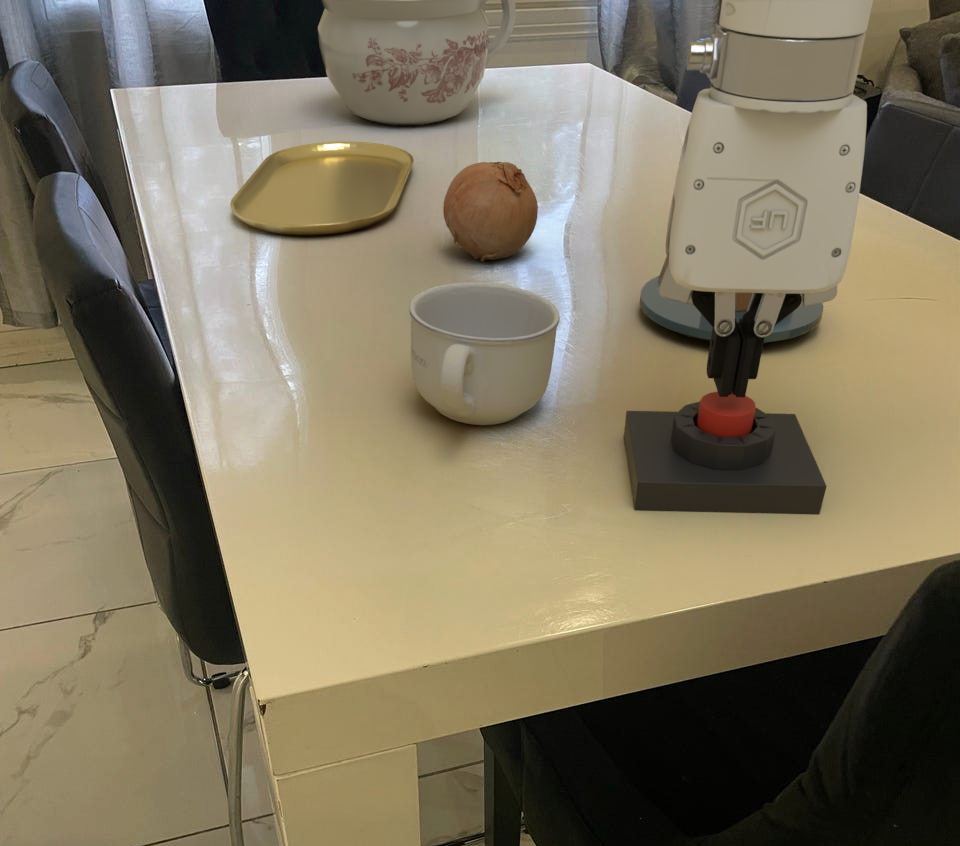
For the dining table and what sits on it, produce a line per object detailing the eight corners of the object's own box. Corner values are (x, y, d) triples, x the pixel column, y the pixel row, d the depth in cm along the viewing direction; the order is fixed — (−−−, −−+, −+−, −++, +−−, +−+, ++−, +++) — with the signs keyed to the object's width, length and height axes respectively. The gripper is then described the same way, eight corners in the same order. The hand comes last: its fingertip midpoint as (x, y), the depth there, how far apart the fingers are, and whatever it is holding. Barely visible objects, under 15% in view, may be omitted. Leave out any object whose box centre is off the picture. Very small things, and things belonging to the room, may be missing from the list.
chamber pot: (288, 132, 144) (269, -43, 130) (349, 92, 164) (338, -63, 151) (480, 143, 139) (480, -37, 126) (518, 100, 160) (521, -59, 146)
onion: (525, 286, 106) (571, 201, 98) (450, 277, 100) (493, 188, 93) (488, 228, 109) (529, 143, 102) (414, 217, 104) (452, 126, 97)
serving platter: (213, 238, 108) (210, 223, 107) (281, 153, 135) (280, 140, 134) (387, 242, 107) (386, 226, 106) (421, 155, 134) (420, 142, 133)
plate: (858, 330, 86) (876, 255, 82) (688, 353, 83) (698, 276, 79) (764, 268, 98) (776, 200, 94) (612, 285, 95) (618, 215, 91)
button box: (789, 441, 73) (800, 390, 71) (819, 515, 66) (833, 460, 63) (623, 437, 74) (628, 386, 71) (634, 511, 66) (640, 456, 63)
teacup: (453, 367, 83) (451, 269, 78) (575, 393, 79) (582, 292, 74) (365, 440, 73) (357, 334, 68) (500, 474, 70) (502, 364, 65)
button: (746, 415, 69) (751, 391, 68) (755, 440, 66) (760, 416, 65) (693, 414, 69) (696, 390, 68) (700, 439, 66) (704, 415, 65)
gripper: (650, 80, 51) (617, 411, 63) (948, 84, 51) (859, 417, 62) (638, 53, 57) (609, 361, 69) (905, 57, 57) (831, 366, 68)
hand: (728, 387), depth 66 cm, fingers closed
